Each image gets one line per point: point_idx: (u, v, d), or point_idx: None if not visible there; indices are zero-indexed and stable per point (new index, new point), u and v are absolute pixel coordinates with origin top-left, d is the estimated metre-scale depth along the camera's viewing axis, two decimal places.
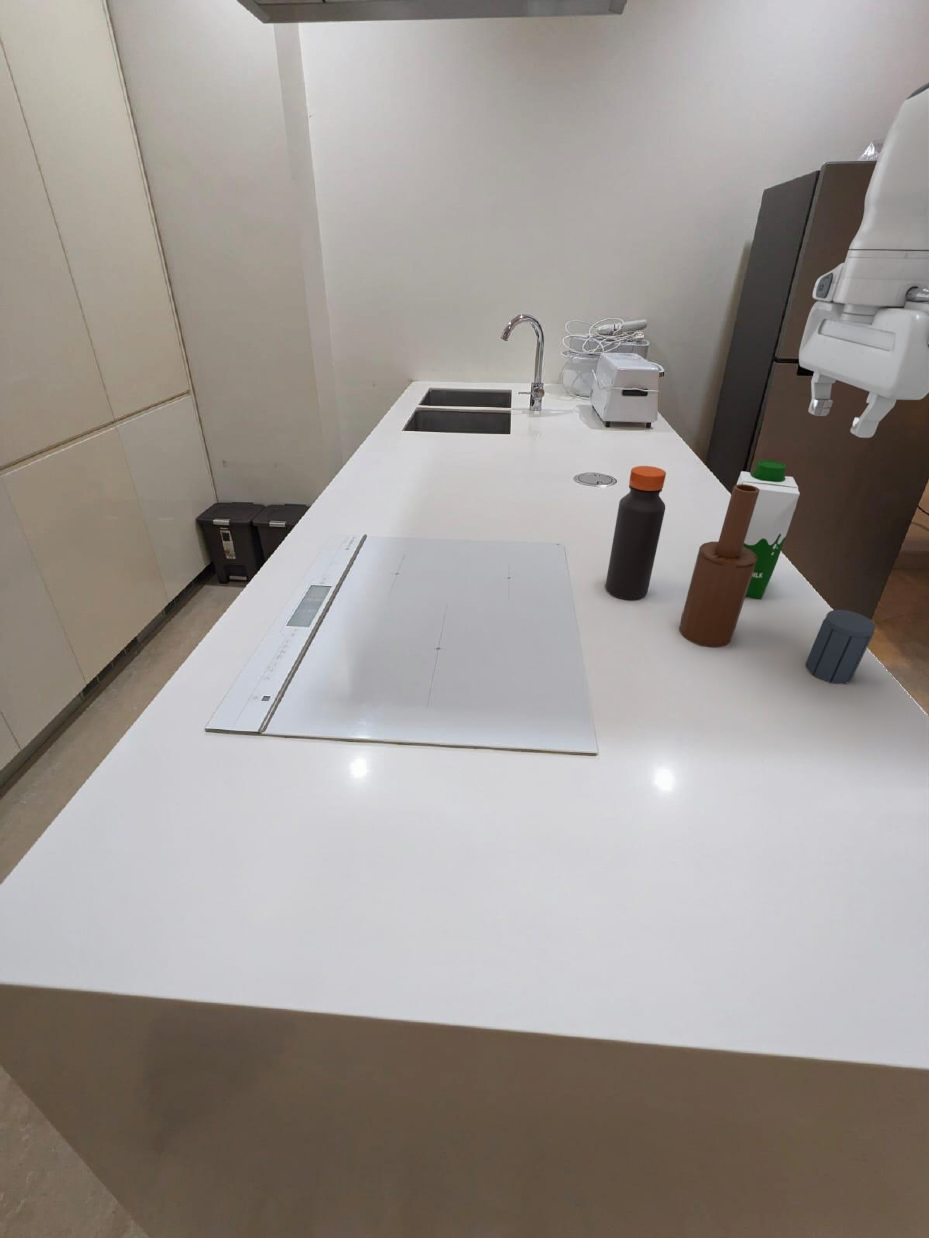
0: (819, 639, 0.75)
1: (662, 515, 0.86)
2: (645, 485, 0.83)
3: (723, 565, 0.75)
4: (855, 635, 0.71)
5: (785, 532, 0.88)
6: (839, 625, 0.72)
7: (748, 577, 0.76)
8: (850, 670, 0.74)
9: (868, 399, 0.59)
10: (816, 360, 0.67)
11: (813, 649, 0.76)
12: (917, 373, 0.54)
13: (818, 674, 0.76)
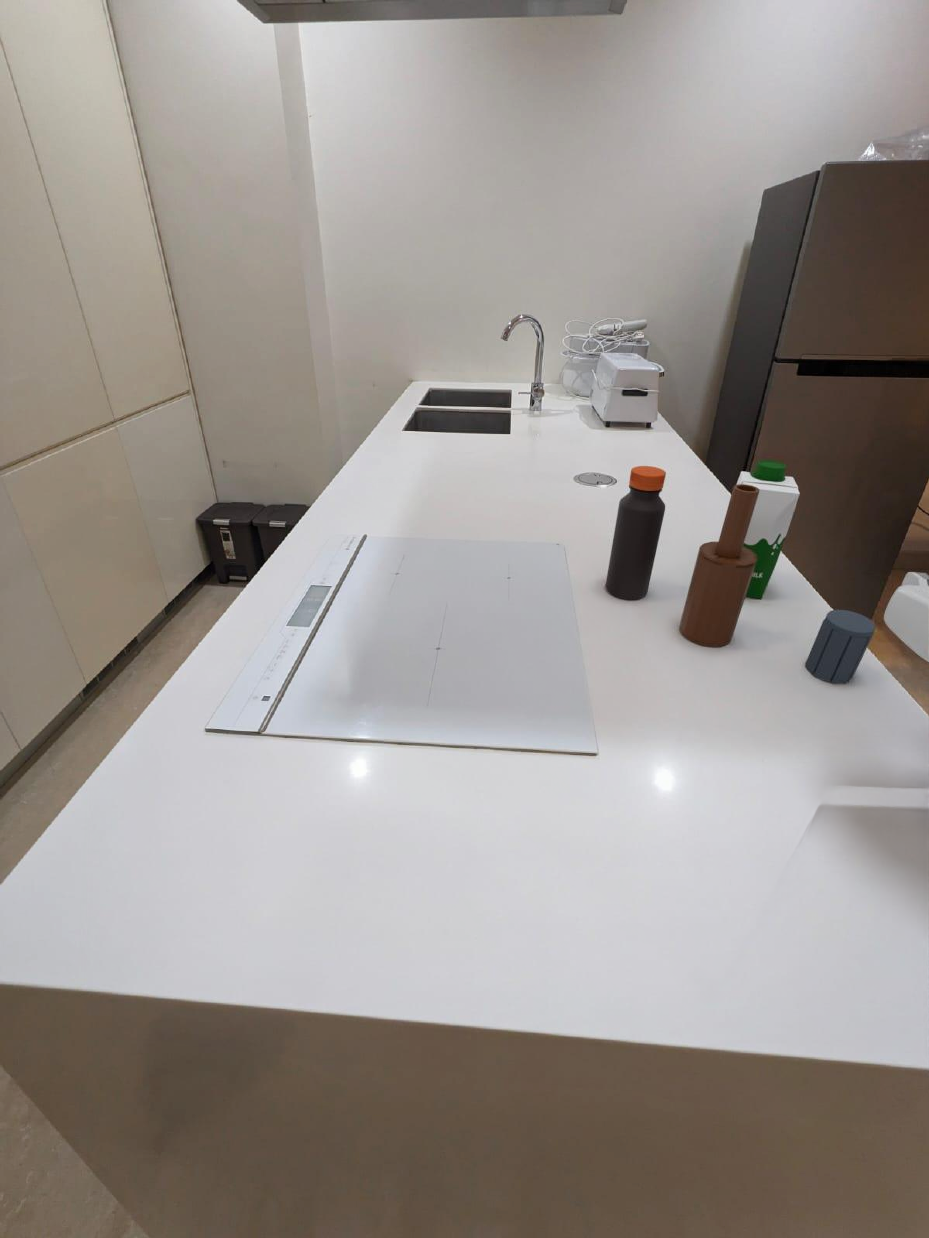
0: (819, 639, 0.75)
1: (662, 515, 0.86)
2: (645, 485, 0.83)
3: (723, 565, 0.75)
4: (855, 635, 0.71)
5: (785, 532, 0.88)
6: (839, 625, 0.72)
7: (748, 577, 0.76)
8: (850, 670, 0.74)
9: None
10: None
11: (813, 649, 0.76)
12: None
13: (818, 674, 0.76)
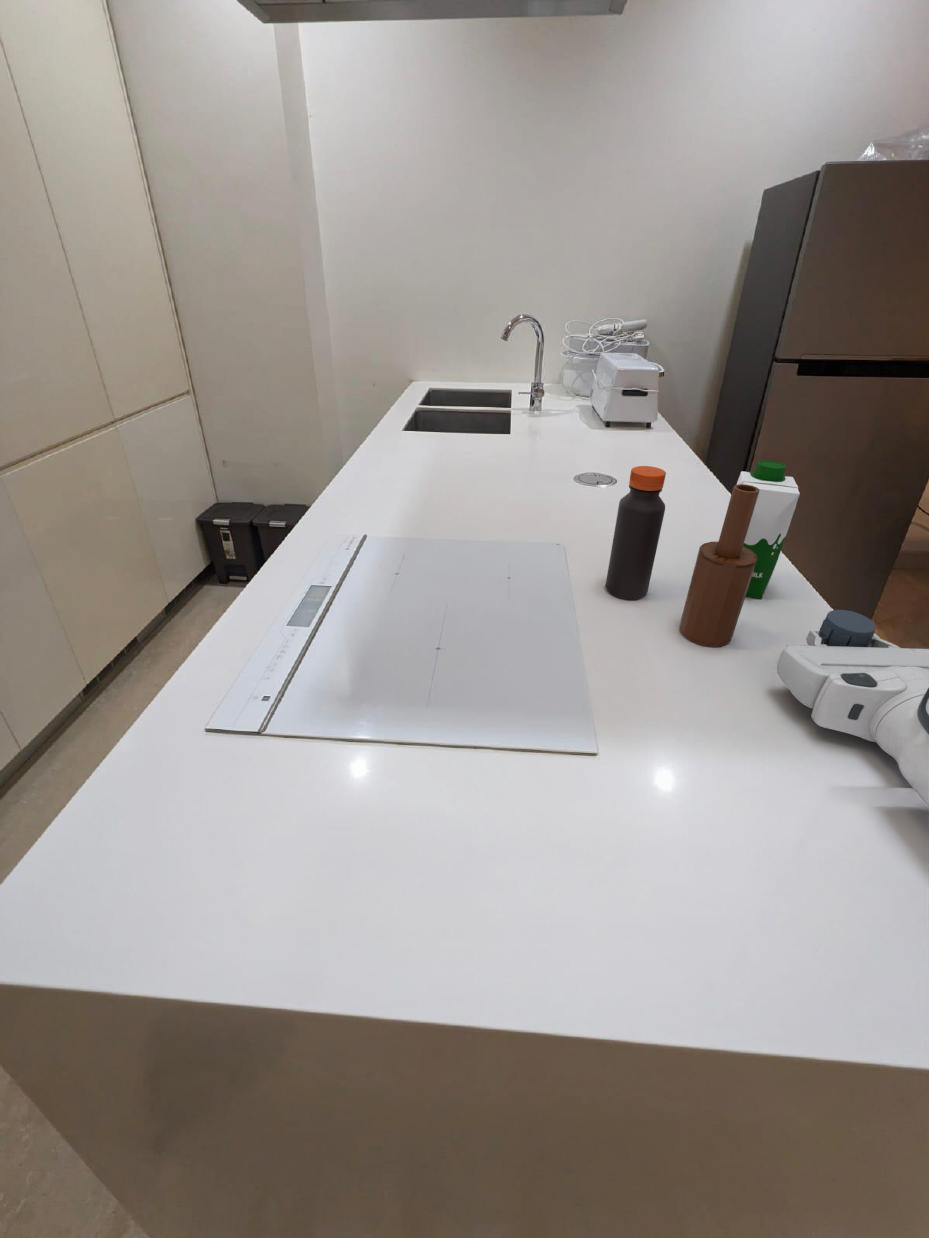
0: None
1: (662, 515, 0.86)
2: (645, 485, 0.83)
3: (723, 565, 0.75)
4: (856, 635, 0.71)
5: (785, 532, 0.88)
6: (839, 625, 0.72)
7: (748, 577, 0.76)
8: None
9: None
10: None
11: None
12: None
13: None
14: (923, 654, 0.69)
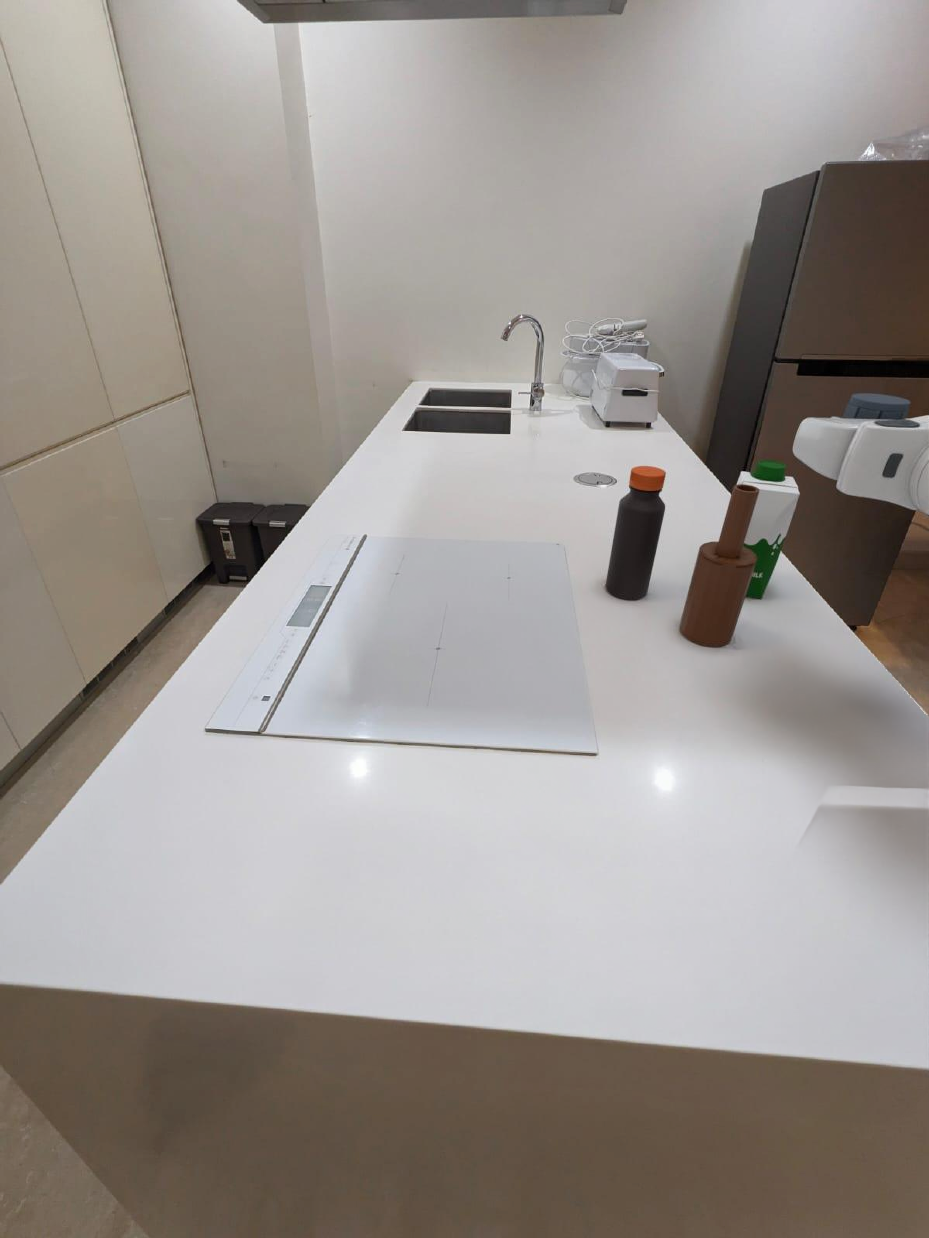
0: None
1: (662, 515, 0.86)
2: (645, 485, 0.83)
3: (723, 565, 0.75)
4: (887, 409, 0.60)
5: (785, 532, 0.88)
6: (867, 400, 0.61)
7: (748, 577, 0.76)
8: None
9: None
10: None
11: None
12: None
13: None
14: None
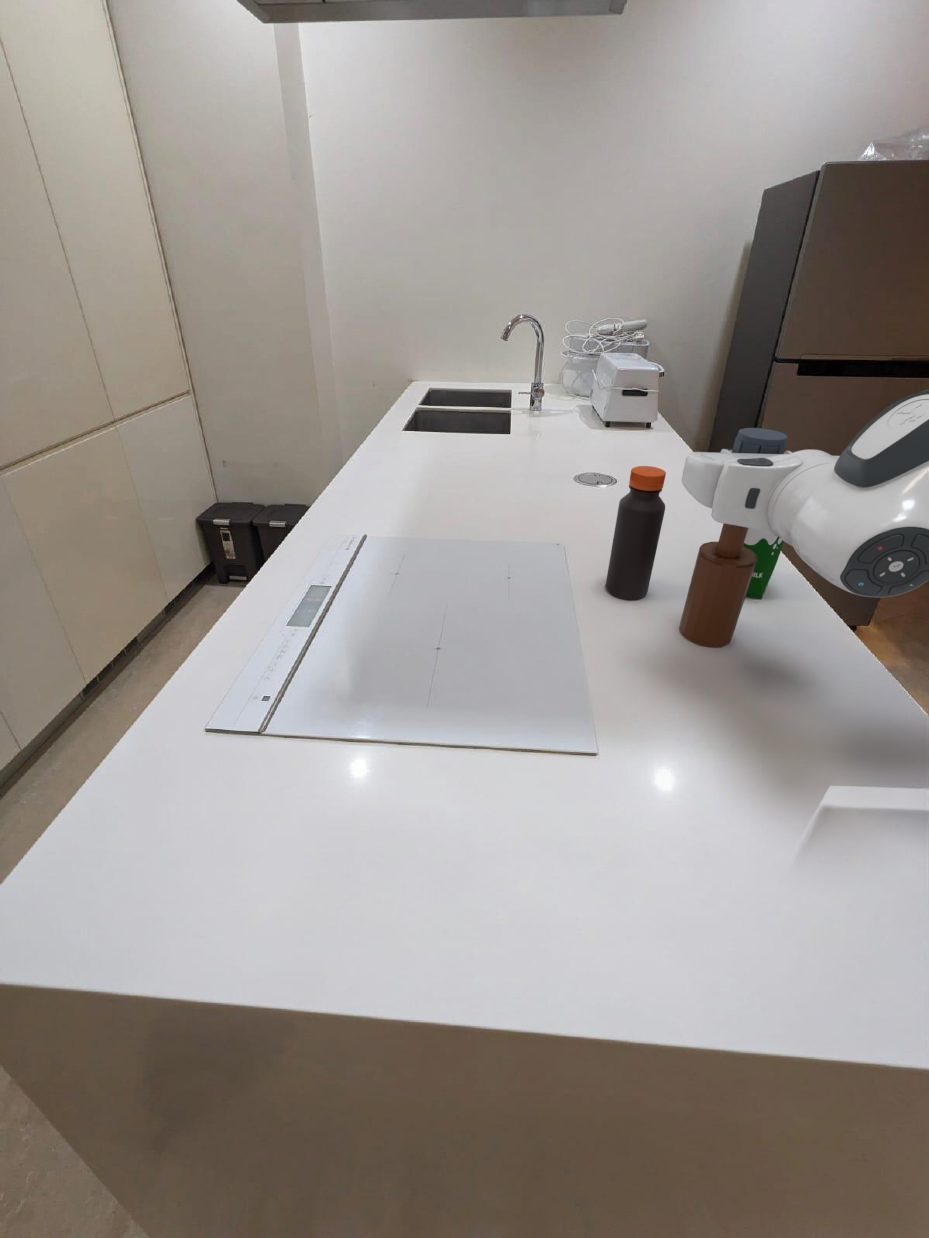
0: None
1: (662, 515, 0.86)
2: (645, 485, 0.83)
3: (723, 565, 0.75)
4: (765, 444, 0.67)
5: None
6: (749, 435, 0.68)
7: (748, 577, 0.76)
8: None
9: None
10: None
11: None
12: None
13: None
14: (834, 458, 0.65)
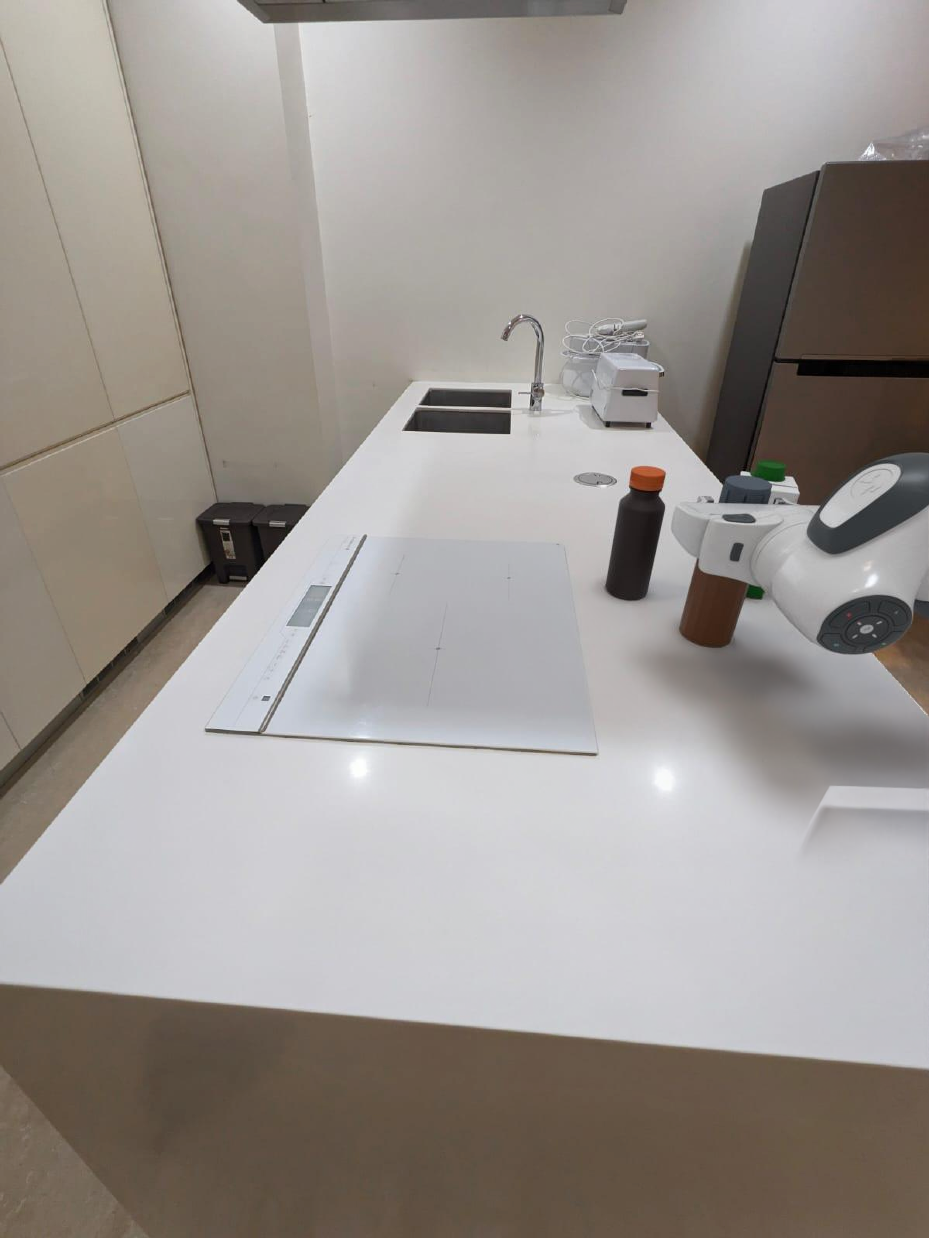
0: None
1: (662, 515, 0.86)
2: (645, 485, 0.83)
3: None
4: (750, 493, 0.71)
5: None
6: (735, 485, 0.71)
7: None
8: None
9: None
10: None
11: None
12: None
13: None
14: (815, 508, 0.69)
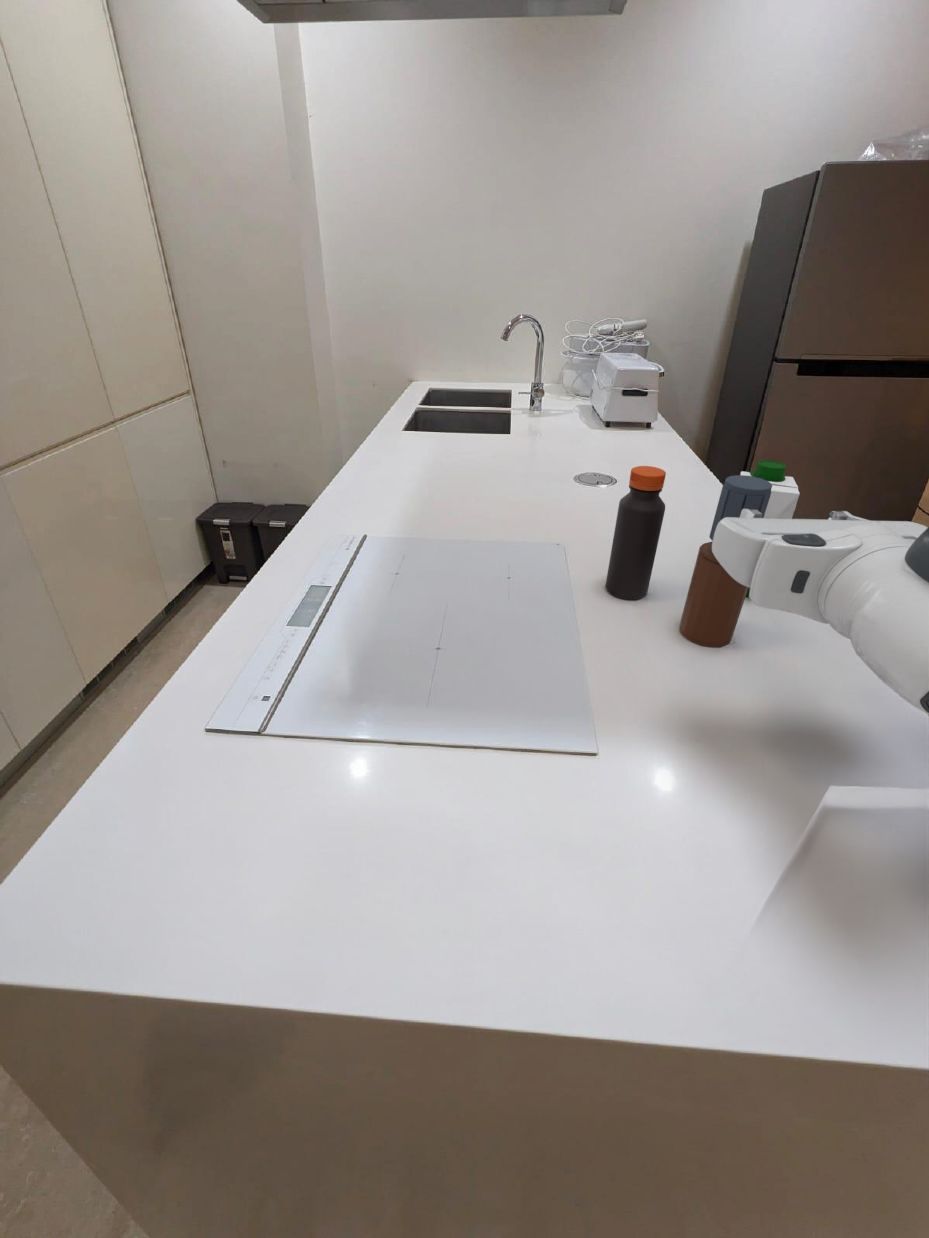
0: (719, 504, 0.74)
1: (662, 515, 0.86)
2: (645, 485, 0.83)
3: None
4: (750, 493, 0.71)
5: None
6: (735, 485, 0.71)
7: None
8: None
9: None
10: None
11: (715, 517, 0.76)
12: None
13: None
14: (890, 525, 0.56)
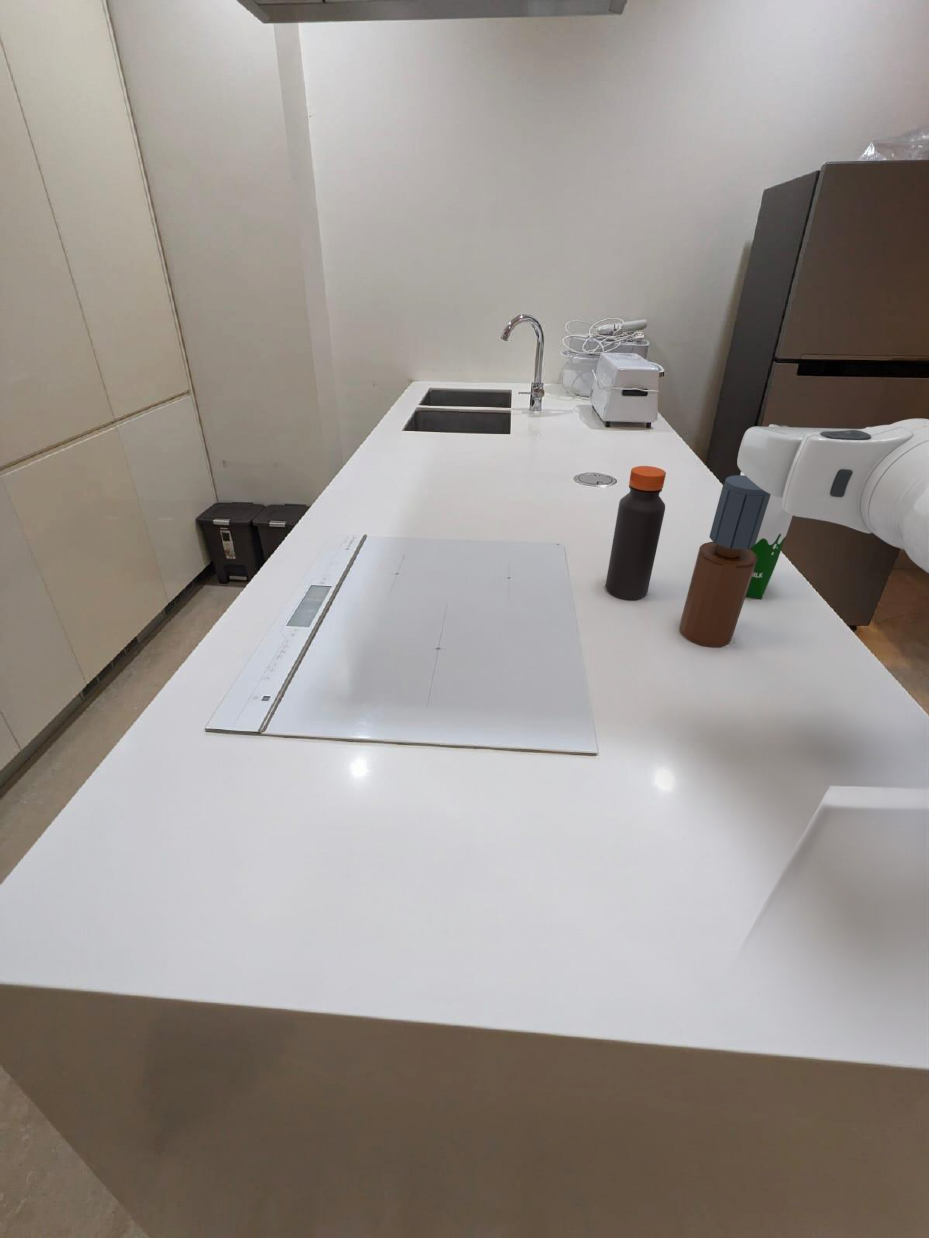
0: (719, 504, 0.74)
1: (662, 515, 0.86)
2: (645, 485, 0.83)
3: (723, 565, 0.75)
4: (750, 493, 0.71)
5: (785, 532, 0.88)
6: (735, 485, 0.71)
7: (748, 577, 0.76)
8: (749, 534, 0.73)
9: None
10: None
11: (715, 517, 0.76)
12: None
13: (719, 541, 0.75)
14: None
